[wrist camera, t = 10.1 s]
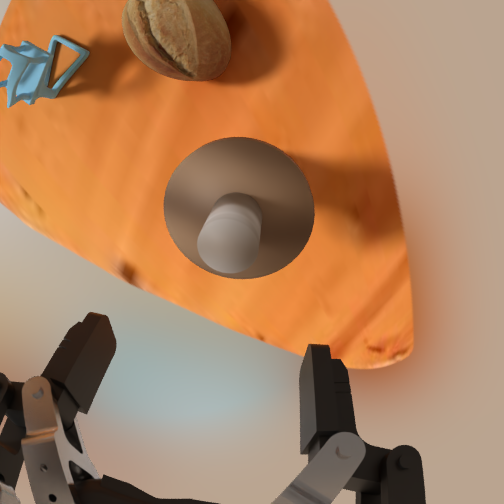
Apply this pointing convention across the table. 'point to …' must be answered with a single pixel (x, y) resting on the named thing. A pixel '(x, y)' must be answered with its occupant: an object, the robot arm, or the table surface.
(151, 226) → the table surface
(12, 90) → the chair
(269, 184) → the lid
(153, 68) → the bread roll
